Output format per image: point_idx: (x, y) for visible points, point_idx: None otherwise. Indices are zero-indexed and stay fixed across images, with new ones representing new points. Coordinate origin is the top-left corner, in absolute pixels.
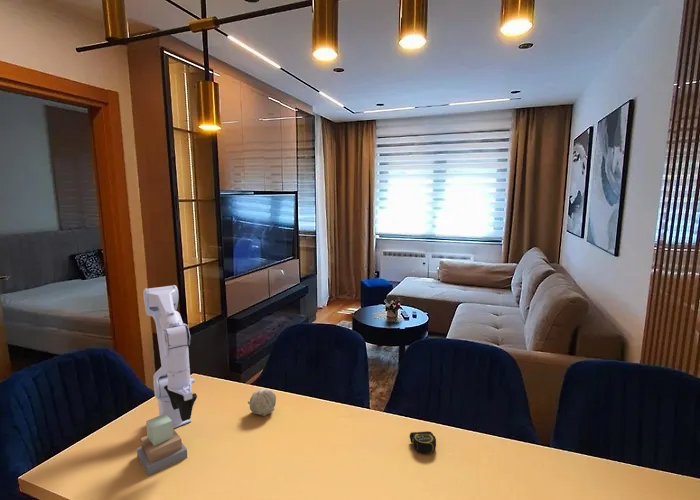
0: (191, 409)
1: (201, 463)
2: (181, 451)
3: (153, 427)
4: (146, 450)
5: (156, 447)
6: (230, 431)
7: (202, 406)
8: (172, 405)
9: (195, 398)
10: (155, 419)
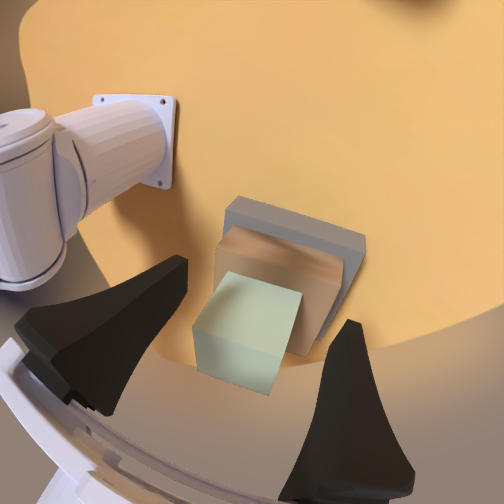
0: (372, 382)
1: (432, 236)
2: (357, 269)
3: (263, 392)
4: None
5: (302, 341)
6: (382, 38)
7: (123, 31)
8: (170, 317)
9: (409, 476)
10: (211, 361)
